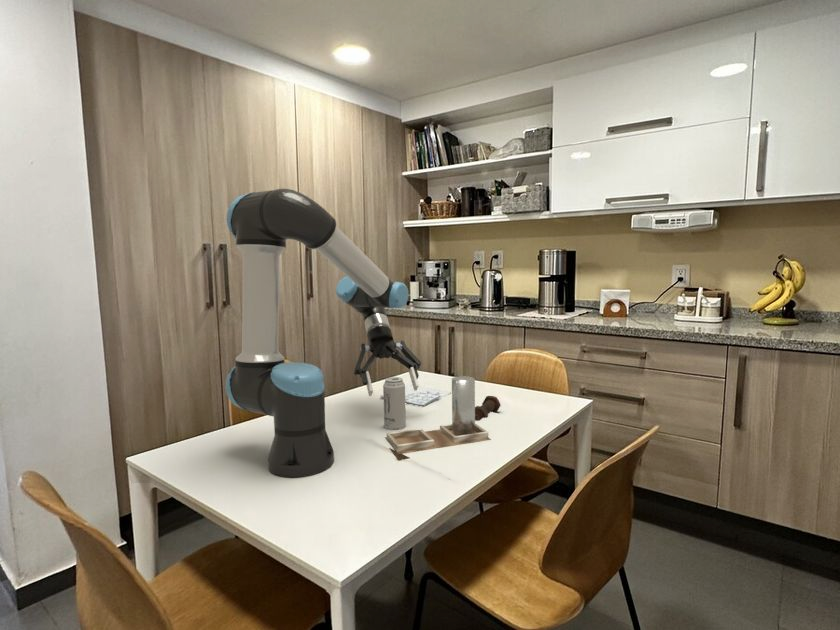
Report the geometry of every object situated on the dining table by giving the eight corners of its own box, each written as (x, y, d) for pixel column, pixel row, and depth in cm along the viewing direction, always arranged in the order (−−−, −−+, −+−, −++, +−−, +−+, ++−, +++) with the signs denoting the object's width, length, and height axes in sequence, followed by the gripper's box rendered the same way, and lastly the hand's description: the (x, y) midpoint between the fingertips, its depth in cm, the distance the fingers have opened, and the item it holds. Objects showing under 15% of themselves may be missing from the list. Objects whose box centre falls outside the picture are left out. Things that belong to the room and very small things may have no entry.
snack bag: (378, 400, 166) (378, 394, 166) (412, 387, 183) (412, 382, 182) (422, 409, 155) (422, 402, 155) (455, 394, 172) (455, 389, 171)
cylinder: (463, 440, 122) (463, 383, 120) (447, 434, 126) (446, 378, 125) (479, 434, 125) (479, 379, 124) (463, 428, 130) (463, 375, 128)
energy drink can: (380, 431, 134) (378, 379, 132) (398, 426, 137) (396, 375, 136) (392, 437, 129) (390, 383, 127) (410, 432, 133) (409, 379, 131)
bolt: (471, 431, 138) (490, 414, 151) (485, 425, 136) (503, 409, 149) (462, 413, 139) (481, 398, 152) (475, 406, 136) (494, 392, 149)
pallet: (398, 460, 114) (398, 448, 113) (384, 442, 125) (384, 431, 125) (491, 445, 122) (491, 433, 122) (470, 430, 133) (470, 419, 133)
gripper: (413, 336, 155) (431, 392, 143) (337, 341, 147) (349, 402, 134) (419, 322, 150) (437, 379, 137) (340, 327, 141) (352, 388, 129)
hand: (394, 390), depth 136 cm, fingers open, 13 cm apart
